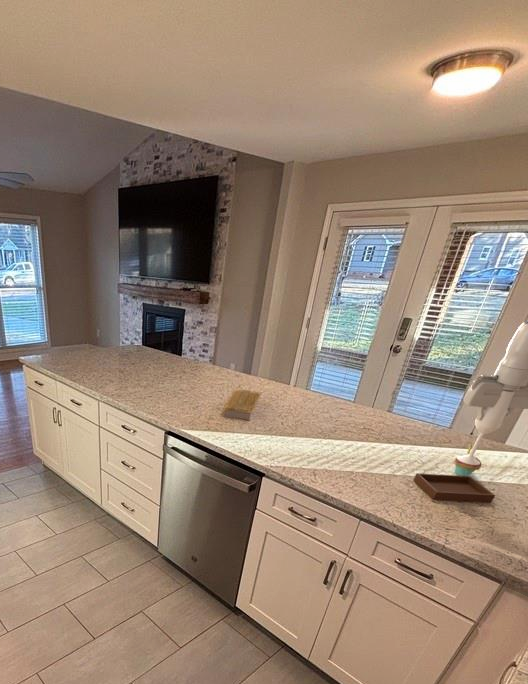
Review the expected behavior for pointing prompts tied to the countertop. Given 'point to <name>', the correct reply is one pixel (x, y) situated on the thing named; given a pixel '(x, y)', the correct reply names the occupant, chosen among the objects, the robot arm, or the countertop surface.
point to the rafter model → (241, 404)
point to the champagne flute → (489, 424)
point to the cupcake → (466, 466)
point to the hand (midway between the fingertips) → (489, 420)
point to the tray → (453, 488)
